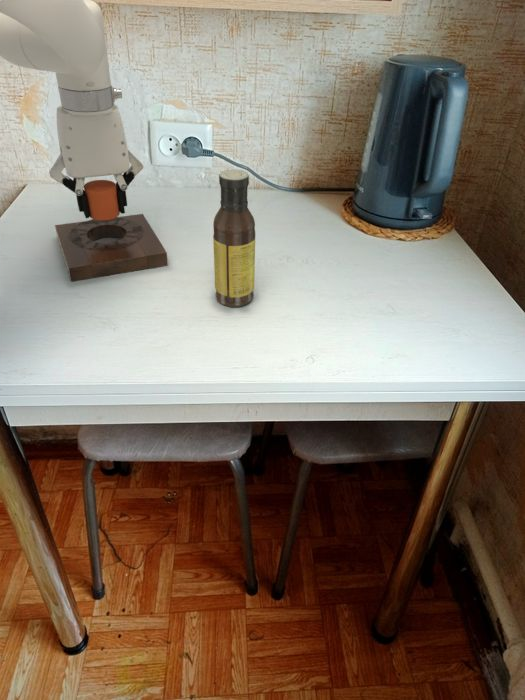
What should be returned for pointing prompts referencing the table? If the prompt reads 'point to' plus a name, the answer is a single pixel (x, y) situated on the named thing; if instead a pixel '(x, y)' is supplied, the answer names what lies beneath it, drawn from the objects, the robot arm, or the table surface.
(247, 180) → the sauce bottle
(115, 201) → the orange cylinder
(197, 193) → the table surface
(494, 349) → the table surface
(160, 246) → the back board
